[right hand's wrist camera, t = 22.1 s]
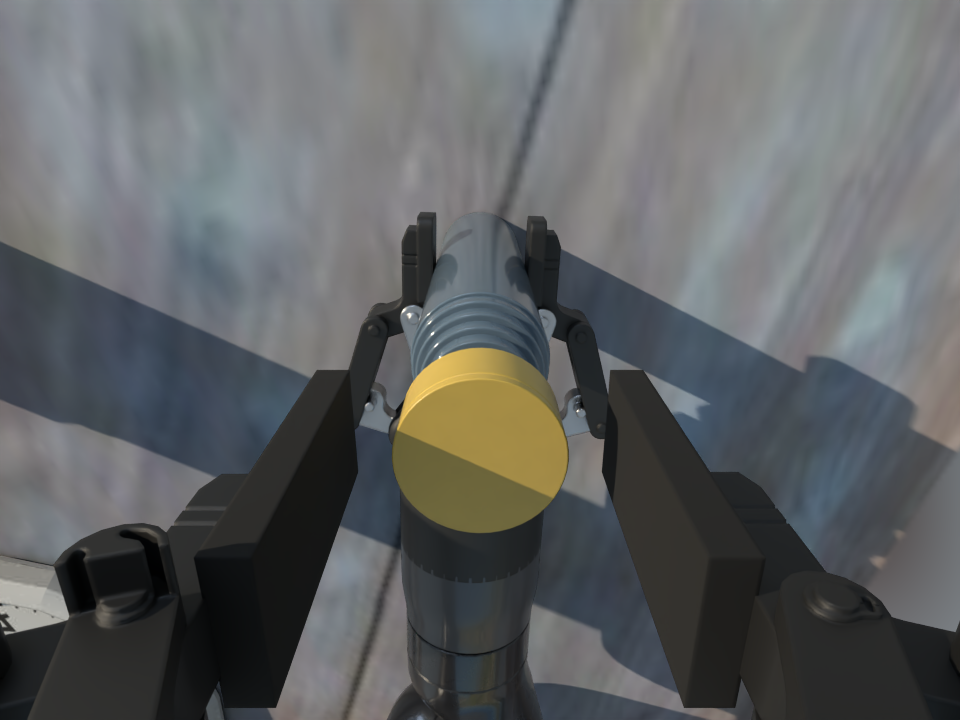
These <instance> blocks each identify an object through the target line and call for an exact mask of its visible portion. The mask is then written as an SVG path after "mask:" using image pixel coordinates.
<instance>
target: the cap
mask: <svg viewBox="0 0 960 720" xmlns="http://www.w3.org/2000/svg"><path fill="white" fill-rule="evenodd" d="M568 462H569V449H568V442H567V438H566V434H565V430H564V427H563V423H562V419H561V416H560V412H559V409H558V405H557V402H556V398H555V395H554V393H553V391H552V389H551V387H550V385H549V383H548V382H547V380H546V379H545V378H544V377H543V375H542V374H541V373H540V372H539V371H538V370H537V369H536V368H535V367H533V366H532V365H531V364H530V363H528V362H527V361H525V360H524V359H522V358H520V357H518V356H516V355H514V354H511V353H508V352H505V351H502V350H497V349H492V348H469V349H464V350H459V351H456V352H452V353H449V354H447V355H445V356H443V357H440V358H439V359H437V360H436V361H434V362H432V363H431V364H430V365H428V366H427V367H426V368H425V369H424V370H423V371H422V372H421V373H420V374H419V375H418V376H417V377H416V379H415V380H414V381H413V383H412V384H411V386H410V388H409V390H408V392H407V394H406V397H405V400H404V403H403V407H402V411H401V415H400V418H399V422H398V426H397V429H396V433H395V437H394V441H393V447H392V463H393V470H394V473H395V477H396V480H397V482H398V484H399V487H400V489H401V490H402V492H403V493H404V495H405V497H406V498H407V499H408V500H409V502H410V503H411V504H412V505H413V506H414V507H415V508H416V509H417V510H418V511H419V512H420V513H422V514H423V515H425V516H426V517H427V518H429V519H431V520H432V521H434V522H436V523H438V524H440V525H443V526H445V527H447V528H451V529H454V530H458V531H463V532H470V533H491V532H497V531H503V530H506V529H510V528H513V527H516V526H518V525H521V524H523V523H525V522H527V521H528V520H530V519H532V518H533V517H535V516H536V515H538V514H539V513H540V512H541V511H542V510H544V509H545V508H546V507H547V506H548V505H549V504H550V502H551V501H552V500H553V499H554V498H555V496H556V495H557V493H558V491H559V490H560V488H561V486H562V484H563V482H564V479H565V476H566V473H567V468H568Z"/></svg>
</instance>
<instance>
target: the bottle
mask: <svg viewBox="0 0 960 720" xmlns="http://www.w3.org/2000/svg"><path fill="white" fill-rule="evenodd" d="M469 348H492V349H497V350H502V351H505V352H508V353H511V354H514V355H516V356H518V357H520V358H522V359H524V360H525V361H527V362H528V363H530V364H531V365H532V366H533V367H535V368H536V369H537V370H538V371H539V372H540V373H541V374H542V375H543V377H544V378H545V379H546V380H547V379H548V373H549V365H550V350H549V344H548V340H547V336H546V333H545V330H544V327H543V323H542V320H541V317H540V314H539V311H538V307H537V304H536V301H535V298H534V294H533V291H532V288H531V285H530V282H529V278H528V275H527V272H526V269H525V266H524V262H523V259H522V256H521V253H520V250H519V246H518V243H517V240H516V237H515V235H514V232H513V231H512V229H511V228H510V226H509V225H508V224H507V223H506V222H505V221H504V220H502V219H501V218H499V217H498V216H496V215H493V214H490V213H485V212H475V213H470V214H467V215H465V216H462V217H461V218H459V219H458V220H456V221H455V222H454V223H453V224H452V225H451V226H450V228H449V229H448V231H447V233H446V235H445V237H444V240H443V243H442V247H441V250H440V253H439V256H438V260H437V263H436V266H435V269H434V273H433V276H432V279H431V282H430V286H429V289H428V292H427V295H426V299H425V302H424V305H423V308H422V312H421V315H420V318H419V321H418V325H417V328H416V331H415V334H414V338H413V341H412V346H411V355H410V358H411V369H412V376H413V381H414V380H415V379H416V377H417V376H418V375H419V374H420V373H421V372H422V371H423V370H424V369H425V368H426V367H427V366H428V365H430V364H431V363H432V362H434V361H436V360H437V359H439V358H440V357H443V356H445V355H447V354H449V353H452V352H456V351H459V350H464V349H469Z"/></svg>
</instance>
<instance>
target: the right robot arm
mask: <svg viewBox="0 0 960 720" xmlns="http://www.w3.org/2000/svg"><path fill="white" fill-rule="evenodd" d="M357 474H358V465H357V453H356V441H355V429H354V417H353V405H352V393H351V381H350V370H317V371H316V372H315V374H314V375H313V377H312V378H311V380H310V381H309V383H308V384H307V386H306V387H305V389H304V391H303V392H302V394H301V395H300V397H299V398H298V400H297V401H296V403H295V404H294V406H293V407H292V409H291V410H290V412H289V413H288V415H287V416H286V418H285V419H284V421H283V422H282V424H281V426H280V427H279V429H278V430H277V432H276V433H275V435H274V436H273V438H272V439H271V441H270V442H269V444H268V445H267V447H266V448H265V450H264V451H263V453H262V454H261V456H260V457H259V459H258V461H257V462H256V464H255V465H254V467H253V468H252V470H251V471H250V473H249V474H221V475H220V476H218V477H217V478H215V479H214V480H212V481H211V482H209V483H208V484H206V485H205V486H204V487H202V488H201V489H199V490H198V492H197V493H196V494H195V496H194V497H193V498H192V500H191V501H190V502H189V504H188V505H187V506H186V510H185V511H182V513H181V514H180V515H179V517H178V518H177V519H176V521H175V522H174V526H171V527H170V528H169V530H168V531H167V532H165V531H163V530H162V529H161V528H160V527H158V526H154V525H149V524H144V523H138V524H123V525H119V526H115V527H112V528H108V529H104V530H101V531H99V532H96V533H94V534H92V535H90V536H88V537H85V538H83V539H81V540H80V541H78V542H77V543H75V544H74V545H72V546H71V547H70V548H68V549H67V550H65V551H64V552H63V553H62V555H61V556H60V557H59V558H58V560H57V561H56V562H55V563H54V568H55V572H56V575H57V578H58V581H59V585H60V588H61V591H62V594H63V597H64V601H65V604H66V607H67V610H68V614H69V618H68V620H66V621H62V622H59V623H56V624H51V625H47V626H42V627H38V628H33V629H29V630H24V631H20V632H16V633H11V634H7V635H5V633H4V630H3V627H2V625H1V622H0V720H209V719H208V714H207V710H206V707H207V705H208V703H209V701H210V699H211V696H212V694H213V692H214V690H215V688H216V686H217V684H218V681H219V682H220V687H221V692H222V697H223V702H224V706H225V708H276V706H277V703H278V700H279V698H280V695H281V692H282V689H283V686H284V683H285V680H286V677H287V675H288V672H289V669H290V666H291V663H292V660H293V657H294V654H295V652H296V649H297V646H298V643H299V640H300V637H301V634H302V632H303V629H304V626H305V623H306V620H307V617H308V614H309V611H310V609H311V606H312V603H313V600H314V597H315V594H316V591H317V588H318V586H319V583H320V580H321V577H322V574H323V571H324V568H325V565H326V563H327V560H328V557H329V554H330V551H331V548H332V545H333V542H334V540H335V537H336V534H337V531H338V528H339V525H340V522H341V520H342V517H343V514H344V511H345V508H346V505H347V502H348V499H349V497H350V494H351V491H352V488H353V485H354V482H355V479H356V476H357ZM602 474H603V476H604V479H605V482H606V485H607V488H608V491H609V494H610V497H611V499H612V502H613V505H614V508H615V511H616V514H617V517H618V520H619V522H620V525H621V528H622V531H623V534H624V537H625V540H626V543H627V545H628V548H629V551H630V554H631V557H632V560H633V563H634V565H635V568H636V571H637V574H638V577H639V580H640V583H641V586H642V588H643V591H644V594H645V597H646V600H647V603H648V606H649V609H650V611H651V614H652V617H653V620H654V623H655V626H656V629H657V632H658V634H659V637H660V640H661V643H662V646H663V649H664V652H665V654H666V657H667V660H668V663H669V666H670V669H671V672H672V675H673V677H674V680H675V683H676V686H677V689H678V692H679V695H680V698H681V700H682V703H683V706H684V708H735V706H736V702H737V697H738V692H739V687H740V682H741V678H742V681H743V683H744V685H745V687H746V689H747V691H748V693H749V695H750V698H751V700H752V702H753V704H754V710H753V714H752V719H751V720H960V622H959V625H958V628H957V630H956V632H952V631H947V630H943V629H938V628H934V627H930V626H925V625H921V624H916V623H912V622H907V621H903V620H900V619H896V618H893V617H891V615H890V613H889V612H888V611H887V609H886V608H885V606H884V605H883V603H882V602H881V601H880V600H879V599H878V598H877V597H875V596H874V595H873V594H872V593H870V592H869V591H868V590H867V589H866V588H864V587H862V586H860V585H858V584H856V583H854V582H852V581H850V580H848V579H846V578H844V577H840V576H837V575H833V574H830V573H826V571H825V570H824V569H823V567H822V566H821V565H820V563H819V562H818V561H817V560H816V558H815V557H814V556H813V554H812V553H811V552H810V550H809V549H808V548H807V547H806V545H805V544H804V543H803V541H802V540H801V539H800V537H799V536H798V535H797V533H796V532H795V531H794V530H793V528H792V527H791V526H790V524H786V519H785V518H784V517H783V515H782V514H781V513H780V511H779V510H778V509H775V505H774V504H773V502H772V501H771V500H770V498H769V497H768V496H767V494H766V493H765V492H764V491H763V489H762V488H761V487H760V486H758V485H757V484H755V483H754V482H752V481H751V480H749V479H748V478H746V477H745V476H743V475H742V474H740V473H739V472H710V471H709V470H708V468H707V467H706V465H705V464H704V462H703V461H702V459H701V457H700V456H699V454H698V453H697V451H696V450H695V448H694V447H693V445H692V444H691V442H690V441H689V439H688V438H687V436H686V435H685V433H684V432H683V430H682V429H681V427H680V426H679V424H678V422H677V421H676V419H675V418H674V416H673V415H672V413H671V412H670V410H669V409H668V407H667V406H666V404H665V403H664V401H663V400H662V398H661V397H660V395H659V394H658V392H657V391H656V389H655V387H654V386H653V384H652V383H651V381H650V380H649V378H648V377H647V375H646V374H645V372H644V371H643V370H610V381H609V393H608V405H607V417H606V429H605V441H604V453H603V465H602Z"/></svg>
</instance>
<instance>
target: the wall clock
mask: <svg viewBox="0 0 960 720" xmlns="http://www.w3.org/2000/svg"><path fill="white" fill-rule="evenodd" d="M68 618H69V614H68V610H67V607H66V604H65V601H64V597H63V594H62V591H61V588H60V585H59V581H58V578H57V575H56V572H55V568H54V567H53V566H49V565H44V564H39V563H34V562H29V561H24V560H19V559H15V558H10V557H5V556H0V622H1V625H2V627H3V630H4V633H5V635H7V634H11V633H16V632H20V631H24V630H29V629H33V628H38V627H42V626H47V625H51V624H56V623H59V622H62V621H66V620H68ZM206 710H207V714H208V719H209V720H224V716H223V711H222V706H221V701H220V696H219V694H218V693H217V691H216V689H215V690H214V692H213V694H212V696H211V699H210V701H209V703H208V705H207V707H206Z"/></svg>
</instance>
